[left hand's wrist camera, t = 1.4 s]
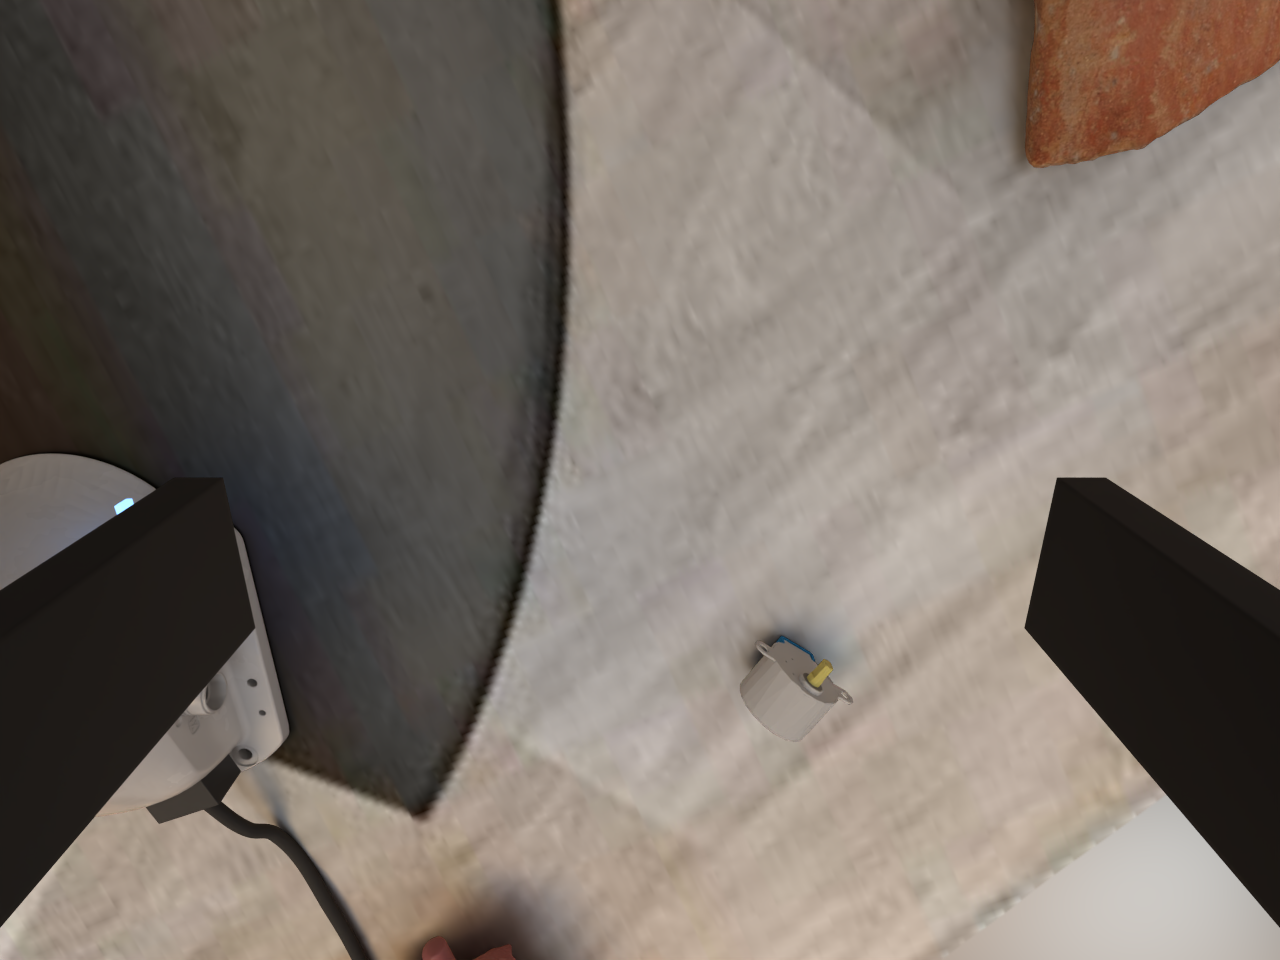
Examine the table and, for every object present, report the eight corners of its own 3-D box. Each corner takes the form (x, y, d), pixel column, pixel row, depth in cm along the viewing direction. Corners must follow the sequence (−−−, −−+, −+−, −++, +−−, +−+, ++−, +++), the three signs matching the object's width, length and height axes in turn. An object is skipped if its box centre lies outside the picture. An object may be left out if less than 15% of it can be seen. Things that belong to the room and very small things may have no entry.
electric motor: (858, 652, 46) (883, 706, 41) (808, 706, 47) (827, 764, 43) (766, 596, 44) (781, 646, 40) (718, 654, 46) (727, 708, 41)
